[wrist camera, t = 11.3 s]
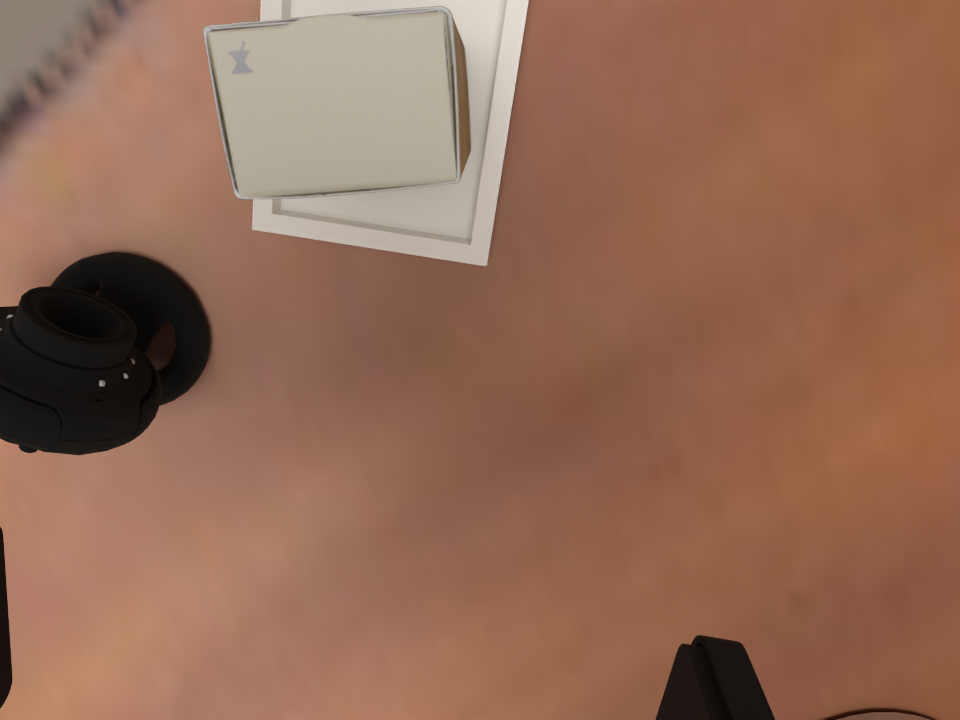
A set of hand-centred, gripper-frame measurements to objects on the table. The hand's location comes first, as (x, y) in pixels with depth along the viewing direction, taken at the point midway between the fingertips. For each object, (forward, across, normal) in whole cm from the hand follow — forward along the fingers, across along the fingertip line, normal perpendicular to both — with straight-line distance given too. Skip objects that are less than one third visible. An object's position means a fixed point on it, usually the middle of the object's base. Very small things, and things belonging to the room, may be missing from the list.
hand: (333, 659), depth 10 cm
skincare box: (+23, +4, -7) cm, 25 cm away
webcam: (+24, +15, +5) cm, 29 cm away
